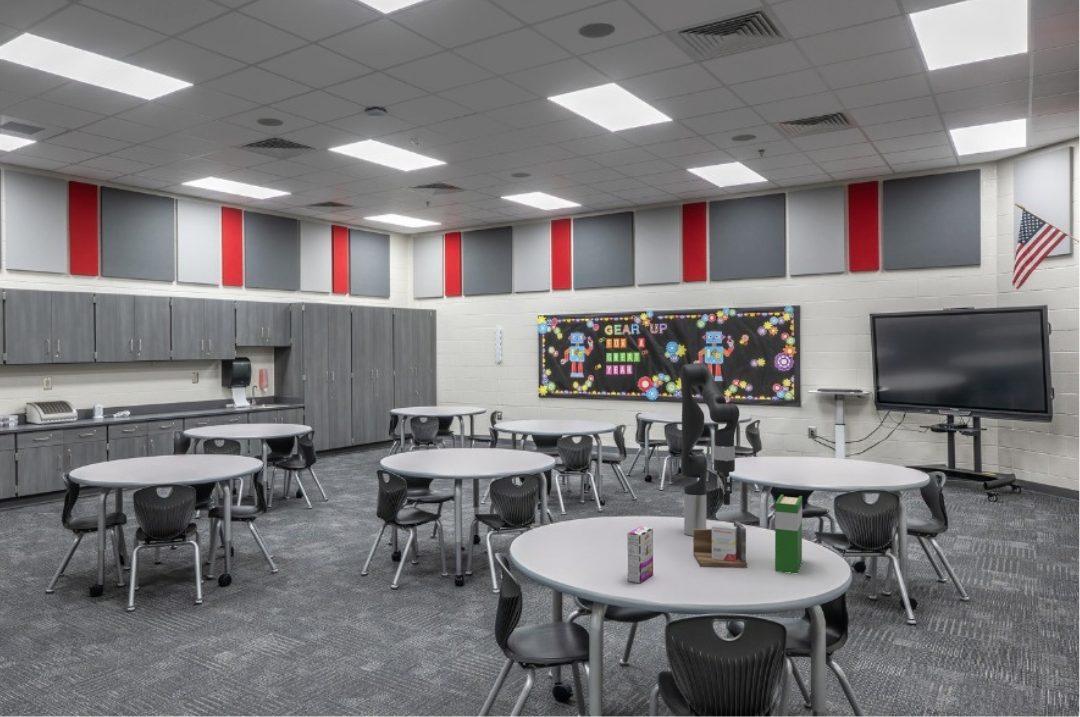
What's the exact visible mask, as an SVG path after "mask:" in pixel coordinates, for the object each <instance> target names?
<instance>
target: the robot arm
mask: <svg viewBox="0 0 1080 717" xmlns="http://www.w3.org/2000/svg"><path fill="white" fill-rule="evenodd" d="M680 384H681V386H680V388H681V439H682V440H681V442H682V444H681V458H680V471H681V476H682V477H683V478H692V479H693V478H695V479H698V480H697V481H695V482H693V483H691V484H688V485H687V484H686V485H685V486H684V490H683V491H684V496H683V497H684V498H683V499H684V500H683V501H684V502H683V504H684V507H683V509H684V510H683V511H684V512H683V515H684V516H683V517H684V518H683V521H684V522H683V523H684V524H683V530H684V531H683V534H685V535H687V536H689V537H690V536H692V537H693V529H707V476H708V475H707V474H708V461H707V458H706V456H702V455H690V453H691V451H692V448H693V447H694V446H695V444H696V442H698V440H699V439H700V438H701V436H702V435H703V432H704V430H705V414H704V410H702V408H701V406H700V405H699V403H698V402H697V401H696V400H695V398H694V396H693V394H692V388H693V387H698V386H704V387H703V388H702V390H701V391H702V392H701V397H702V399H703V401H704V403H705V404H706V406H707V408H708V410H709V417H710V420H711V421H712V422H713V423H716V424H717V423H718V424H725V423H726V425H725V427H723V428H718V429H716V430H715V432H714V447H713V470H714V471H715V472H716V487H717V490H718V492H717V493H718V494H717V495H718V497H717V499H718V501H719V500H720V501H723V505H724V506H729V505H731V495H732V493H733V482H732V481H733V478H732V476H730V473H733V472H735V471H736V451H735V434H736V430H737V425H738V423H739V418H740V413H741V412H740V408H739V407H738V406H737V404H735V403H727V400H726V398H725V396H724V394H723V393H722V392H721V390H720V389H719V388H718V386H717V384H716V382H715V379H714V377H713V374H712V372H711V371H710V368H709V366H708V365H707V364H706V363H704V362H695V363H688V364H687V363H686V364H683V365H682V366H681V368H680Z"/></svg>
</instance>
